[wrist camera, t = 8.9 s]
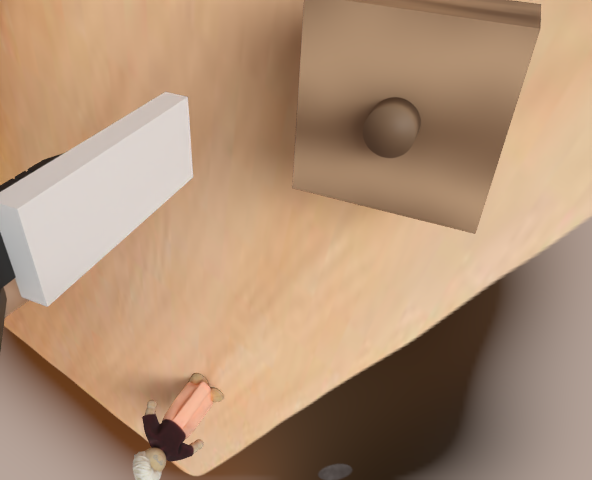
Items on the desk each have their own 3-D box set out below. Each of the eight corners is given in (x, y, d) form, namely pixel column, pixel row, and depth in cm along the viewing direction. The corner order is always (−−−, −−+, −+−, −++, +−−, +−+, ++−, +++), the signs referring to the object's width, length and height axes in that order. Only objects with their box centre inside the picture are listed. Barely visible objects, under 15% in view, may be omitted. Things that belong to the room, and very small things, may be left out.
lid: (338, -23, 27) (292, 0, 22) (540, 4, 25) (540, 37, 20) (321, 151, 33) (281, 201, 28) (483, 188, 31) (472, 250, 26)
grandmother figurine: (236, 397, 60) (177, 498, 50) (223, 410, 63) (163, 509, 53) (181, 357, 60) (111, 451, 50) (170, 371, 62) (101, 464, 52)
